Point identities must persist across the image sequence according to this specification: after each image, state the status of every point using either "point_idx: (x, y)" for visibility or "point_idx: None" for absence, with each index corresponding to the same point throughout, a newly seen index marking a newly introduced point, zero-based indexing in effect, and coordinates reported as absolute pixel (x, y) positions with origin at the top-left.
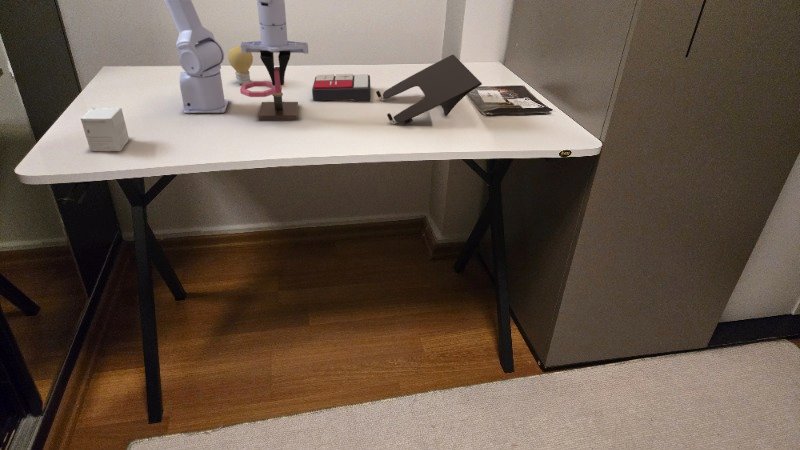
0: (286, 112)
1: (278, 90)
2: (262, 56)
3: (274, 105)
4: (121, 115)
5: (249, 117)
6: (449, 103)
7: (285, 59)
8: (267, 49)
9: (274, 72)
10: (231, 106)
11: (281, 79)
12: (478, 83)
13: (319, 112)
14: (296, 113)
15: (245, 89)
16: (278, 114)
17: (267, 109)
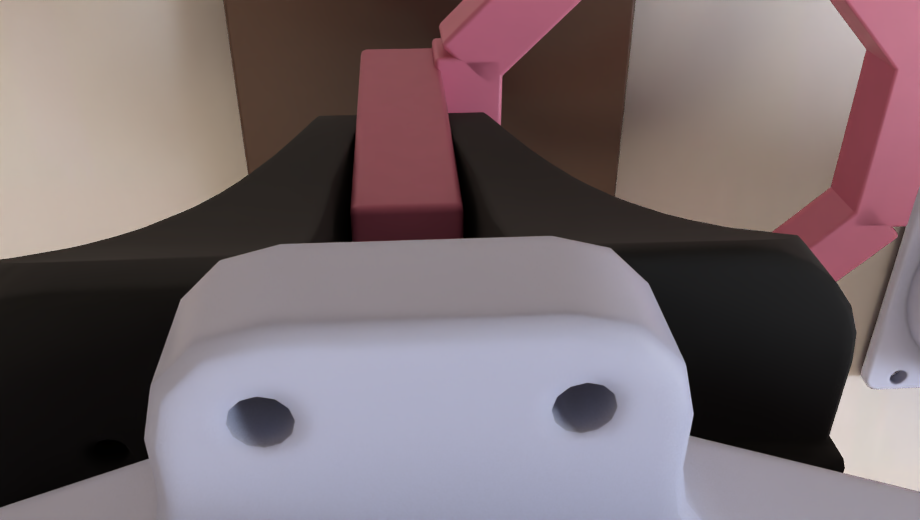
0: (347, 79)
1: (398, 60)
2: (792, 361)
3: None
4: None
5: (712, 57)
6: None
7: (72, 262)
8: (705, 464)
9: (451, 188)
10: (847, 292)
11: (328, 133)
12: None
13: (42, 179)
14: (235, 50)
15: (890, 37)
16: (426, 22)
17: (546, 153)
